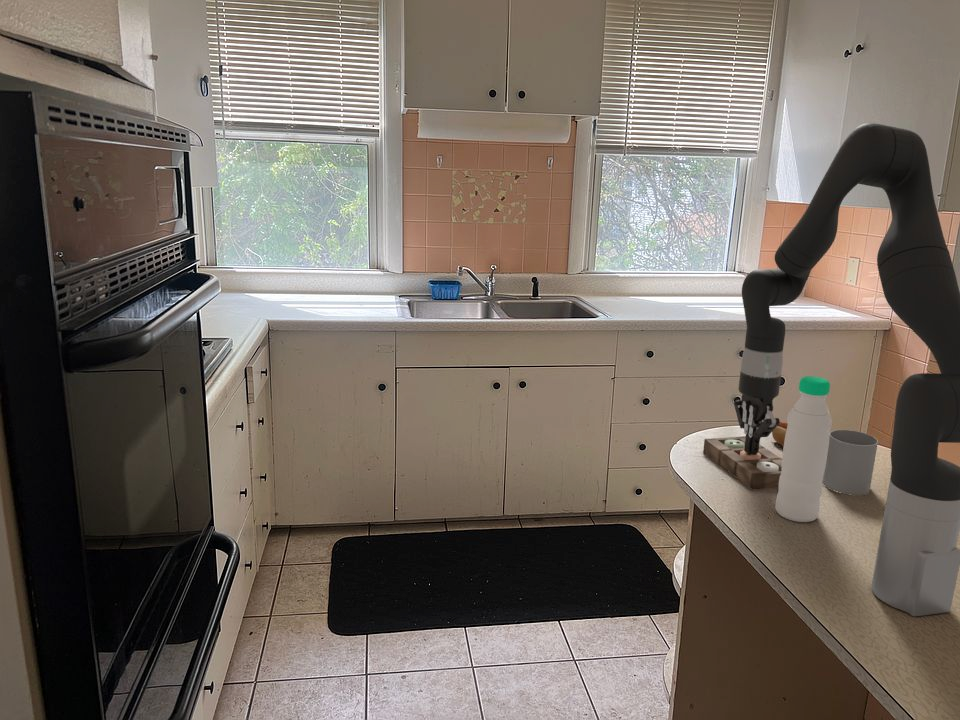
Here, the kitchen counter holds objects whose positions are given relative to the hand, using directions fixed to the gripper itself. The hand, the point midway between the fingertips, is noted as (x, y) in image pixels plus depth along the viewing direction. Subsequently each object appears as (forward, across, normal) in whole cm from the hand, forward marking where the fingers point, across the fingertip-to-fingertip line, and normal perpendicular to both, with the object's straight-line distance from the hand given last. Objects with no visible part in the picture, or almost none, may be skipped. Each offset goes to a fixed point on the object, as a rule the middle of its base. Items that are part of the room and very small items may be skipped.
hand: (750, 452), depth 150 cm
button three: (+3, 0, 0) cm, 3 cm away
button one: (+3, -6, 0) cm, 7 cm away
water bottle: (+3, -20, +3) cm, 21 cm away
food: (+4, +7, -16) cm, 18 cm away
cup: (+4, -11, -14) cm, 18 cm away
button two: (+3, +6, 0) cm, 7 cm away
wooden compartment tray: (+3, 0, 0) cm, 3 cm away
